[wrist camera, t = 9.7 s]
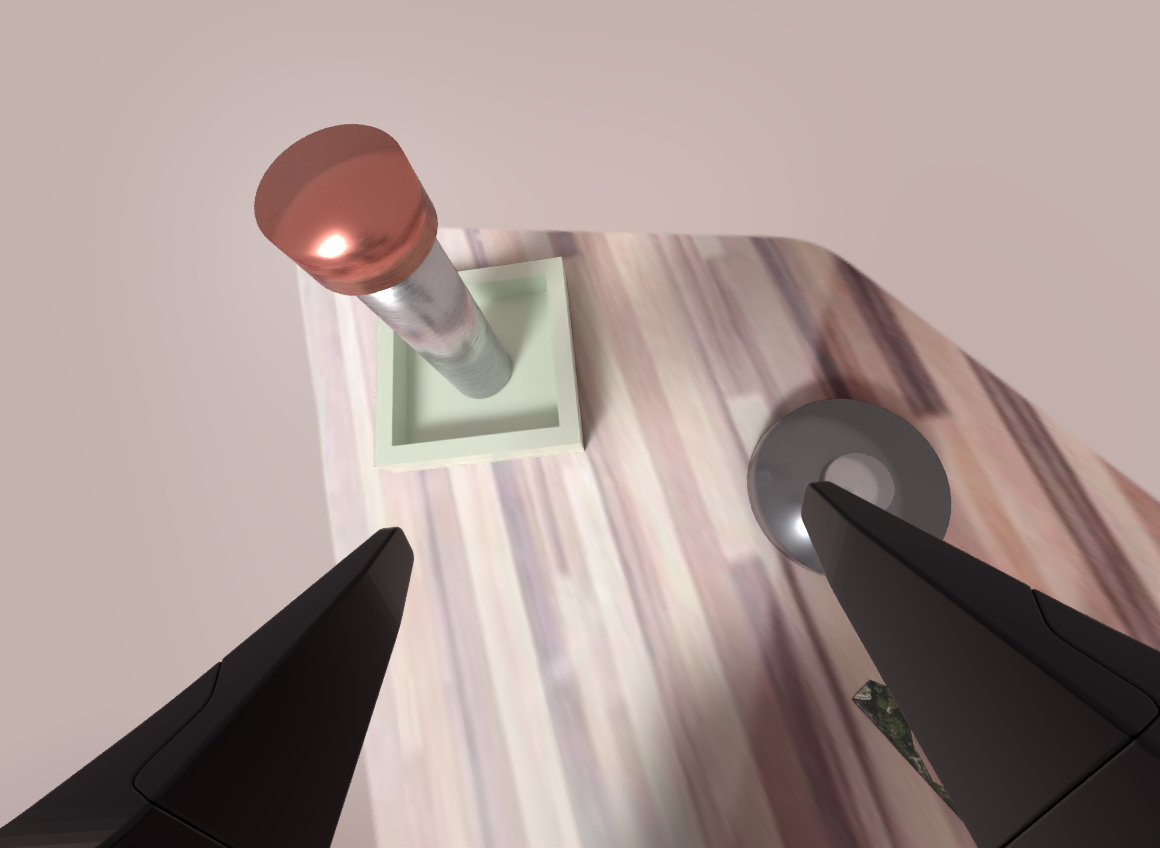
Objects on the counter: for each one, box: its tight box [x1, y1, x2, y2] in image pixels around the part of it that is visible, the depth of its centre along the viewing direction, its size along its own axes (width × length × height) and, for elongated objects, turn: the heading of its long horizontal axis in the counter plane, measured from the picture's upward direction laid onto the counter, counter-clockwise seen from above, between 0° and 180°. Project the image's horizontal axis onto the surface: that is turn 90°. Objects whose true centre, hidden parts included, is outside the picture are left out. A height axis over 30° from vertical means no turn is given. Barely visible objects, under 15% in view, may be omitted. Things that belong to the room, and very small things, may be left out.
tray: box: [373, 257, 584, 473], centre depth 24 cm, size 11×11×2 cm
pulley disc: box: [747, 399, 951, 576], centre depth 21 cm, size 9×9×2 cm
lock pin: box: [254, 124, 512, 399], centre depth 18 cm, size 5×5×13 cm
